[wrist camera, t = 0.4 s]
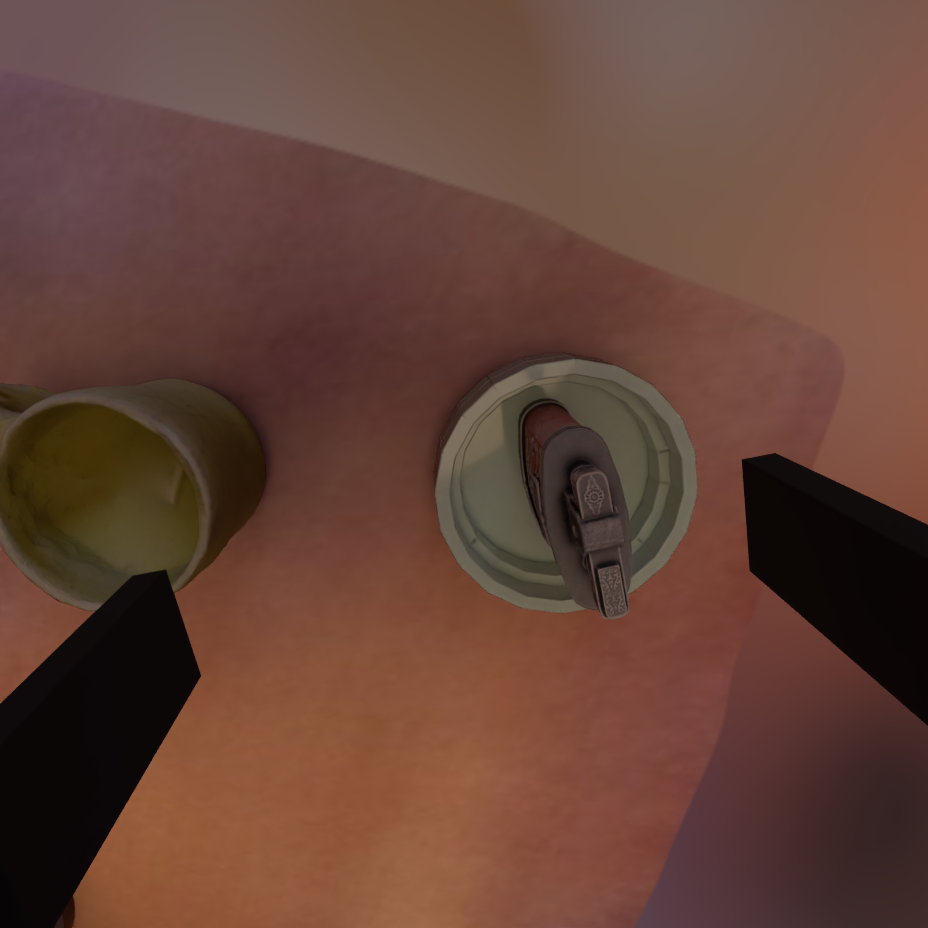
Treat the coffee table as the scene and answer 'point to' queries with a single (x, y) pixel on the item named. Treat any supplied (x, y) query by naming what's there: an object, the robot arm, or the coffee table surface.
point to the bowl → (501, 487)
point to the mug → (122, 483)
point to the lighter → (577, 505)
